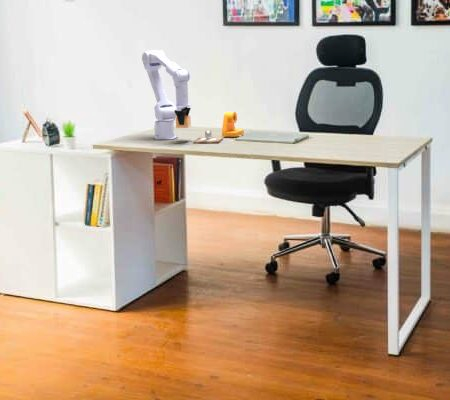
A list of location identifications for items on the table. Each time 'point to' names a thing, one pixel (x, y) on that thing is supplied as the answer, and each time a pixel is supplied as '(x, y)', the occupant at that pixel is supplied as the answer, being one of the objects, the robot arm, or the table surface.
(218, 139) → the post base
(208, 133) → the steel post
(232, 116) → the bracket
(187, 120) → the collar
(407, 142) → the table surface
